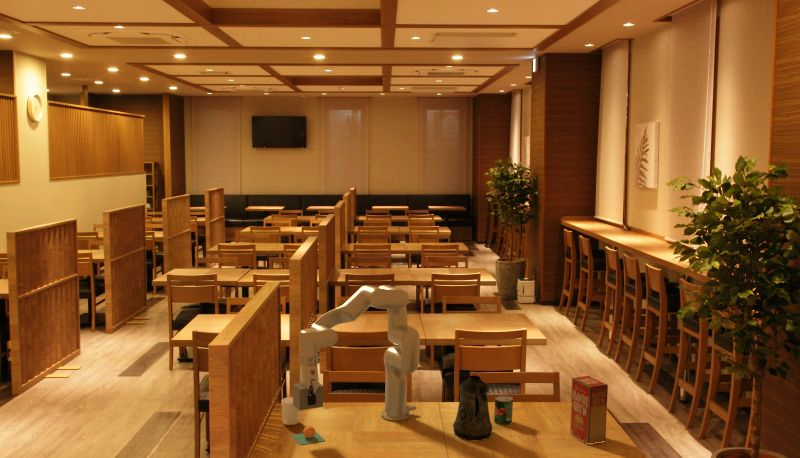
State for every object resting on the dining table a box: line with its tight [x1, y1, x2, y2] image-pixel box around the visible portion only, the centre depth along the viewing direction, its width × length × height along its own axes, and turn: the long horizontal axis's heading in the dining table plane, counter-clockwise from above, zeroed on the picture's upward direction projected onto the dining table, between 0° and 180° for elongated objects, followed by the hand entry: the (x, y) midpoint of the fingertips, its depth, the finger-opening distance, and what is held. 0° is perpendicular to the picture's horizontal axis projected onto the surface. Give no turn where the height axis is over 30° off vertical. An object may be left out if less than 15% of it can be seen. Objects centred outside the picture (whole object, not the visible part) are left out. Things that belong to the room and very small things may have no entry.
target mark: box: [290, 430, 326, 446], centre depth 324 cm, size 11×11×1 cm
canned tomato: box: [493, 395, 514, 426], centre depth 346 cm, size 8×8×11 cm
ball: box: [302, 425, 316, 438], centre depth 324 cm, size 5×5×5 cm
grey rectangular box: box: [292, 381, 324, 412], centre depth 322 cm, size 10×8×9 cm
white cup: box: [280, 396, 300, 426], centre depth 341 cm, size 8×8×10 cm
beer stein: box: [452, 374, 493, 441], centre depth 330 cm, size 16×19×25 cm
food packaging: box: [569, 375, 609, 443], centre depth 329 cm, size 13×9×25 cm
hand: (308, 401), depth 322 cm, fingers closed on grey rectangular box, 7 cm apart
